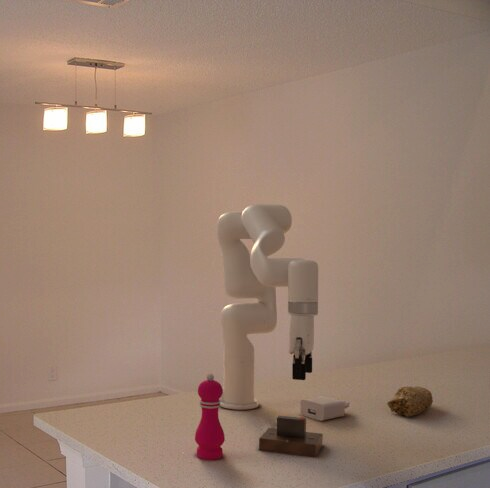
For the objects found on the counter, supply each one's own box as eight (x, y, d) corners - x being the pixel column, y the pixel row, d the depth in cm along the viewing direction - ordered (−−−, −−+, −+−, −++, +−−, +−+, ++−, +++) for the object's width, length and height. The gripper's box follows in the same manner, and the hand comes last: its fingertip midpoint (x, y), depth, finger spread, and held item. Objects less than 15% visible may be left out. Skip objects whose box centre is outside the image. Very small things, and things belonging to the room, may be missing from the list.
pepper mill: (193, 451, 179) (193, 370, 179) (221, 450, 180) (222, 370, 179) (196, 460, 172) (197, 377, 171) (226, 460, 173) (227, 376, 172)
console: (258, 450, 180) (258, 438, 180) (269, 438, 190) (269, 426, 190) (315, 457, 175) (315, 444, 175) (322, 444, 185) (323, 432, 185)
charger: (358, 414, 215) (323, 421, 206) (335, 407, 223) (300, 414, 214) (358, 398, 215) (323, 405, 206) (335, 392, 222) (300, 398, 214)
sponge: (419, 424, 209) (448, 398, 223) (413, 398, 208) (441, 374, 222) (379, 423, 218) (409, 398, 232) (372, 398, 218) (402, 375, 232)
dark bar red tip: (276, 435, 183) (276, 416, 183) (278, 432, 185) (278, 414, 185) (304, 438, 180) (304, 419, 180) (306, 436, 182) (306, 417, 182)
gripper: (294, 304, 193) (294, 368, 194) (281, 311, 177) (280, 381, 177) (323, 306, 191) (322, 370, 191) (312, 313, 174) (311, 383, 175)
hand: (302, 375), depth 184 cm, fingers open, 9 cm apart
